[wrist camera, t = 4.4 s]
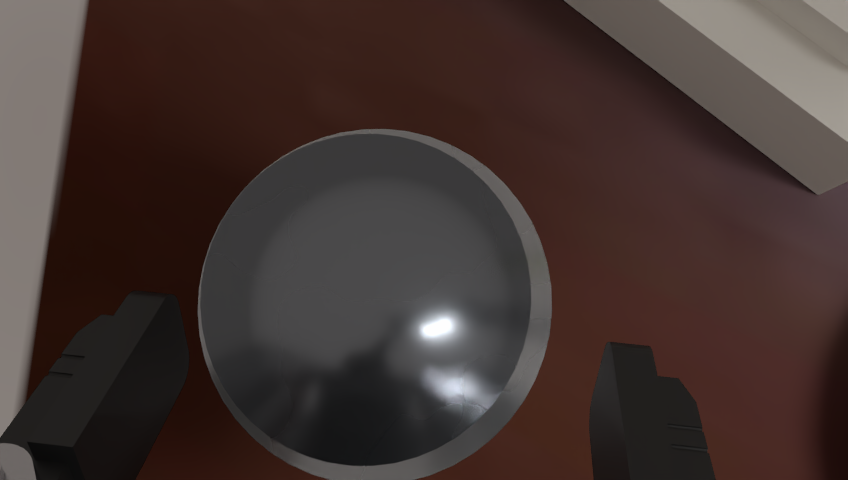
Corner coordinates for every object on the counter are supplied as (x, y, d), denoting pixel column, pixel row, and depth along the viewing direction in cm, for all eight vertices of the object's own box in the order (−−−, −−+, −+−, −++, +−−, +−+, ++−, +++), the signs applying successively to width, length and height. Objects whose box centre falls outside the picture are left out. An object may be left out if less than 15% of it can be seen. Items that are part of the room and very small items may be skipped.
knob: (578, 315, 20) (694, 270, 10) (423, 499, 19) (381, 647, 9) (402, 167, 21) (347, -10, 11) (249, 338, 20) (44, 315, 10)
